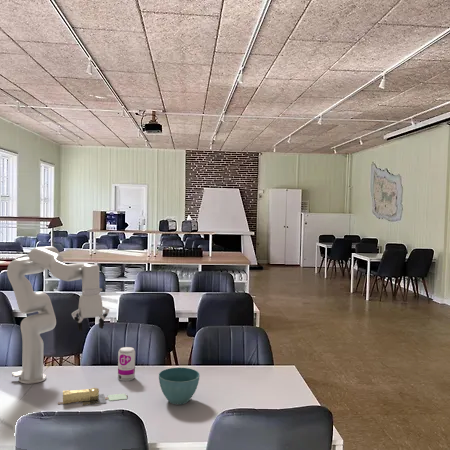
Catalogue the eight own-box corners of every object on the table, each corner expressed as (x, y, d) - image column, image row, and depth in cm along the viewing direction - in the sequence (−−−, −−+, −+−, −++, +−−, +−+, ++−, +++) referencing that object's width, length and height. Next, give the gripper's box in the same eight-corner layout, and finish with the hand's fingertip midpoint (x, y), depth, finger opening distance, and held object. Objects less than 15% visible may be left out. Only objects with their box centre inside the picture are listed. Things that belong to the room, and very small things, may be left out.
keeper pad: (109, 401, 219) (109, 400, 219) (107, 395, 224) (107, 395, 224) (127, 399, 221) (127, 398, 221) (125, 394, 227) (125, 393, 227)
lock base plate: (82, 405, 213) (82, 405, 213) (81, 396, 222) (81, 396, 222) (106, 403, 216) (106, 402, 216) (103, 394, 226) (103, 393, 226)
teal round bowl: (182, 413, 209) (183, 384, 208) (149, 402, 219) (150, 375, 218) (206, 399, 224) (207, 372, 224) (174, 390, 234) (175, 364, 233)
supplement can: (130, 382, 242) (131, 352, 242) (115, 380, 244) (115, 350, 243) (137, 376, 250) (137, 347, 250) (121, 374, 252) (122, 345, 251)
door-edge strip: (58, 404, 213) (58, 404, 213) (57, 402, 215) (57, 402, 215) (127, 397, 224) (127, 396, 224) (127, 395, 225) (127, 395, 225)
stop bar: (98, 396, 222) (98, 387, 222) (99, 400, 218) (99, 391, 218) (62, 399, 217) (62, 390, 217) (63, 403, 213) (63, 394, 213)
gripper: (105, 289, 231) (105, 325, 231) (69, 292, 221) (69, 330, 221) (112, 291, 224) (112, 328, 225) (74, 294, 214) (74, 334, 215)
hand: (90, 329), depth 223 cm, fingers open, 9 cm apart
